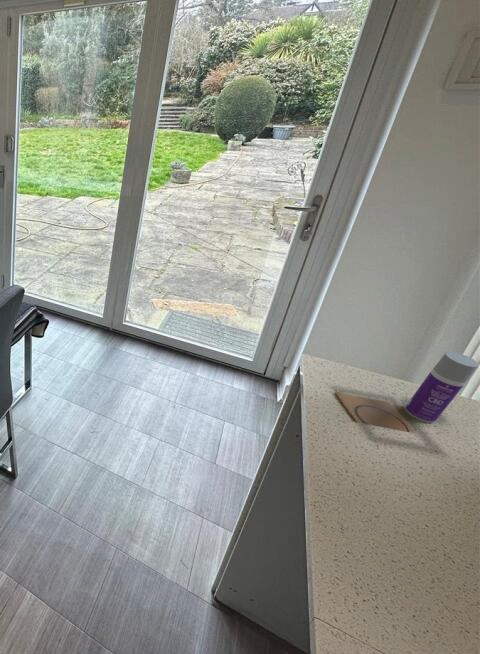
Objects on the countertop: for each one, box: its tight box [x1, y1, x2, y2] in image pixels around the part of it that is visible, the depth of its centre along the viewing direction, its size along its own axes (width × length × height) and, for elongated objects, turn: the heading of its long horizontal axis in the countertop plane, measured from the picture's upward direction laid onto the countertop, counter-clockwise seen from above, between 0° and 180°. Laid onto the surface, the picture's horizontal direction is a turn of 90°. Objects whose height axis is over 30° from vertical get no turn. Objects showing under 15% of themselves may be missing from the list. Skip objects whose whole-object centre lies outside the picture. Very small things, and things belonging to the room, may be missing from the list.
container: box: [404, 351, 479, 424], centre depth 82 cm, size 5×5×15 cm
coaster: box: [334, 391, 417, 435], centre depth 84 cm, size 10×14×1 cm
